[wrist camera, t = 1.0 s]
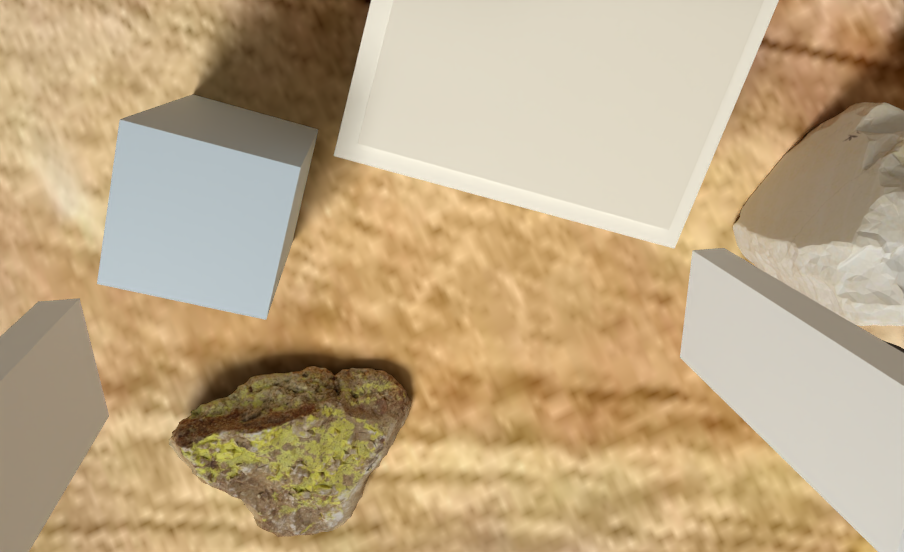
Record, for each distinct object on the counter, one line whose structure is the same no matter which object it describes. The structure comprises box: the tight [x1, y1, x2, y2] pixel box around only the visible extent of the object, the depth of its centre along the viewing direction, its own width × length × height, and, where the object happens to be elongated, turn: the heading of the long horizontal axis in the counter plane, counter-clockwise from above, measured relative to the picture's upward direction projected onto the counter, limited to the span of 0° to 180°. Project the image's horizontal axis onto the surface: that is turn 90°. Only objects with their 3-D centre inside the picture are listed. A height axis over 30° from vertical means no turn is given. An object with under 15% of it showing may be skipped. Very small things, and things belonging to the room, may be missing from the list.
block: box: [97, 94, 319, 320], centre depth 28 cm, size 6×6×10 cm
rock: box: [169, 366, 411, 537], centre depth 37 cm, size 12×7×10 cm
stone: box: [733, 102, 904, 326], centre depth 31 cm, size 10×5×12 cm, turn 147°
